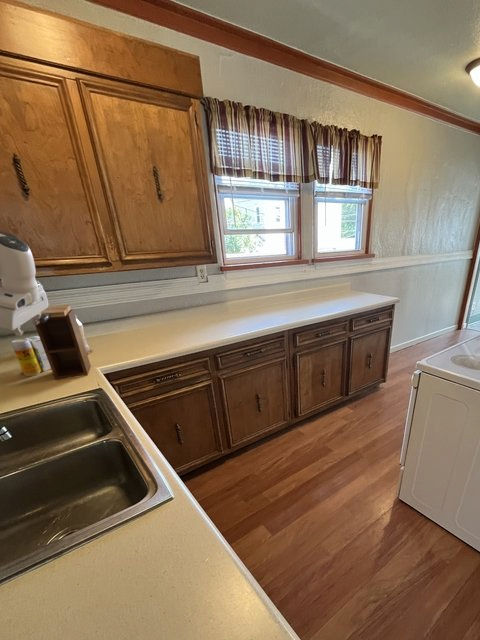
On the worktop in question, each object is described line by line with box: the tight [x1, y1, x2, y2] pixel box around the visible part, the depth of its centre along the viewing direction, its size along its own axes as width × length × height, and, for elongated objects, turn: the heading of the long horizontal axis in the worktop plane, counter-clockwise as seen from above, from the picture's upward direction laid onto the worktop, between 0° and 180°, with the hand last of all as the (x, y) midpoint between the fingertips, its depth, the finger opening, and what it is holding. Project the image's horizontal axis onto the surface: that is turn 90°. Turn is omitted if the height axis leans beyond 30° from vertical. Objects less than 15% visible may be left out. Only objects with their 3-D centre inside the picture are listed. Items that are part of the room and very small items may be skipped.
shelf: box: [30, 304, 72, 323], centre depth 126 cm, size 25×11×2 cm, turn 25°
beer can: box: [11, 338, 42, 377], centre depth 139 cm, size 6×6×15 cm
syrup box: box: [25, 335, 52, 372], centre depth 145 cm, size 6×6×14 cm
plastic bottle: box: [74, 313, 91, 355], centre depth 161 cm, size 6×7×20 cm
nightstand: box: [34, 308, 92, 380], centre depth 138 cm, size 12×12×26 cm
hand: (28, 329), depth 113 cm, fingers open, 8 cm apart
